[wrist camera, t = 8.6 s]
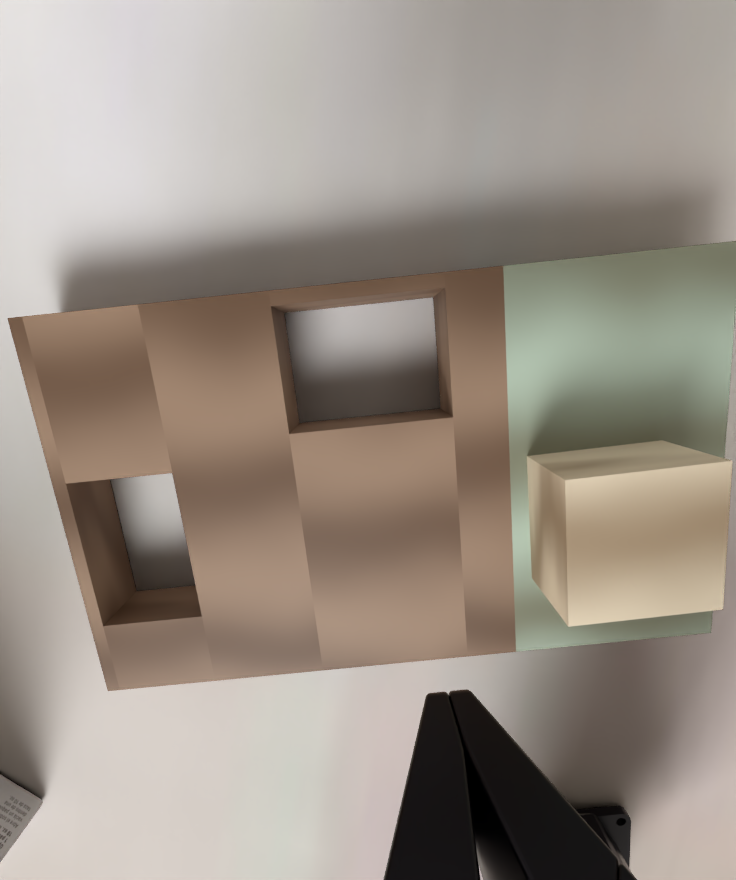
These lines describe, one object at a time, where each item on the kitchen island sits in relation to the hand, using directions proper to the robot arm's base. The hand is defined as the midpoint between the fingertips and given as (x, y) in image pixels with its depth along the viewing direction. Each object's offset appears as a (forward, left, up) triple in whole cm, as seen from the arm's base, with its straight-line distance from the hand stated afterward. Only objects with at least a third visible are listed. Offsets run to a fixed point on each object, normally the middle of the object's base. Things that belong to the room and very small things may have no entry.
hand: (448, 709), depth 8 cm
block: (0, -7, -8) cm, 11 cm away
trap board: (+2, 0, -11) cm, 11 cm away
